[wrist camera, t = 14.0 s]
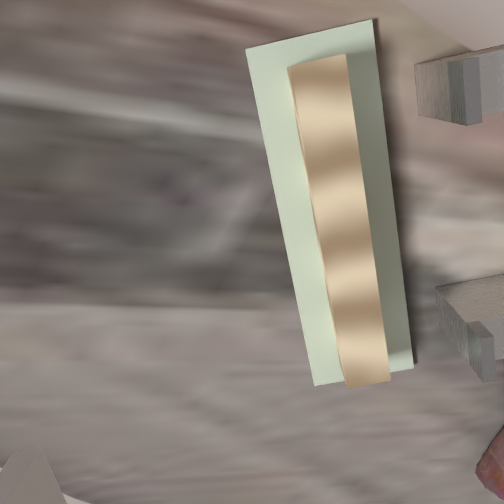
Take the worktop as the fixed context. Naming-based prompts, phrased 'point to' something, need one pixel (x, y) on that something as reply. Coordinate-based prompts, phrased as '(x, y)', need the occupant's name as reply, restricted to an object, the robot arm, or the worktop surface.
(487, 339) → the post
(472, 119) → the post
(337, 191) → the rail
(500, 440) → the food
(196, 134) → the worktop surface
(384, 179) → the mat
